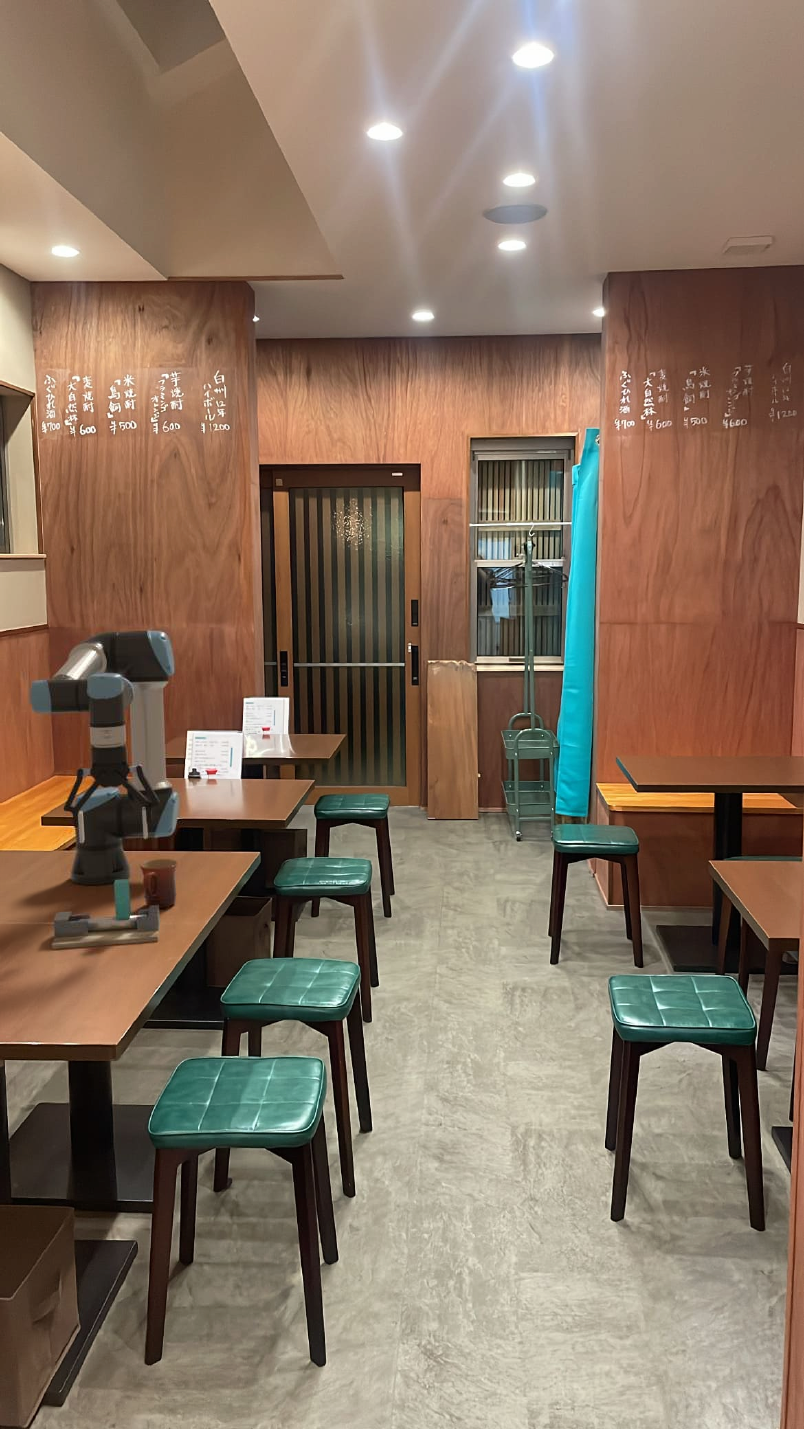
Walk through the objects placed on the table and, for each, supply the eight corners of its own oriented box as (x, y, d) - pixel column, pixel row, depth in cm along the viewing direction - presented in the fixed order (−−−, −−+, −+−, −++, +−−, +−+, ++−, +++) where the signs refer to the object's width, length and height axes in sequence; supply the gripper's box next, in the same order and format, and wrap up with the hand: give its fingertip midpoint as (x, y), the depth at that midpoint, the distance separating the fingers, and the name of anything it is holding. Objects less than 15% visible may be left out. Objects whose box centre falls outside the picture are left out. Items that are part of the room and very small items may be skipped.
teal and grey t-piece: (80, 929, 237) (77, 882, 236) (149, 924, 240) (147, 877, 238) (79, 934, 234) (76, 886, 233) (149, 928, 237) (146, 881, 236)
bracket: (58, 929, 238) (57, 912, 237) (90, 927, 239) (89, 910, 238) (54, 938, 232) (53, 920, 232) (88, 935, 233) (87, 918, 233)
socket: (139, 923, 241) (138, 906, 240) (159, 922, 242) (158, 904, 241) (137, 932, 235) (136, 914, 234) (158, 930, 236) (157, 913, 235)
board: (60, 928, 242) (60, 923, 242) (160, 921, 246) (160, 916, 246) (52, 949, 228) (52, 944, 228) (157, 941, 232) (157, 936, 232)
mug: (151, 898, 263) (149, 858, 262) (185, 900, 261) (183, 859, 260) (129, 914, 251) (127, 871, 250) (164, 915, 250) (162, 873, 248)
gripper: (46, 750, 227) (53, 847, 230) (166, 744, 232) (171, 839, 235) (51, 744, 235) (57, 838, 238) (167, 739, 239) (172, 831, 242)
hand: (114, 839), depth 236 cm, fingers open, 13 cm apart
